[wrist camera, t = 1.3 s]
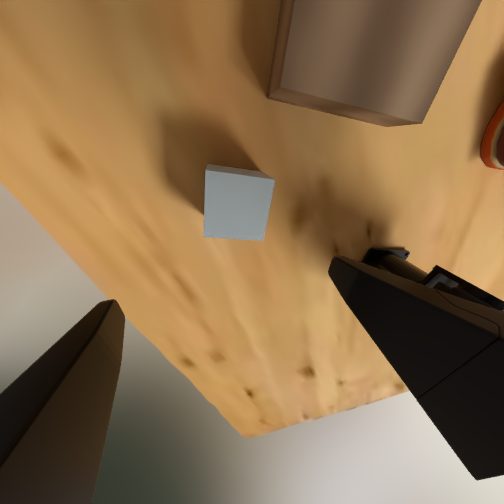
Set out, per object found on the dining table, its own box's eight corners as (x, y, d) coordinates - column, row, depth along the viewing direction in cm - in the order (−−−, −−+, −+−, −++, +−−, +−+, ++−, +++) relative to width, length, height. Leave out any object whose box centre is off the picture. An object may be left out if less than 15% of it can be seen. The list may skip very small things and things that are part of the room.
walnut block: (469, -85, 13) (564, -170, 9) (383, 127, 18) (421, 123, 15) (307, -186, 10) (356, -359, 6) (265, 99, 16) (280, 86, 12)
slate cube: (260, 171, 18) (275, 179, 14) (253, 220, 20) (263, 240, 16) (207, 163, 17) (205, 169, 13) (205, 216, 19) (203, 237, 15)
